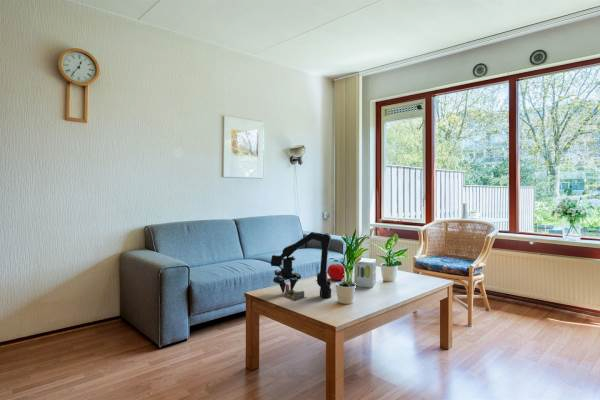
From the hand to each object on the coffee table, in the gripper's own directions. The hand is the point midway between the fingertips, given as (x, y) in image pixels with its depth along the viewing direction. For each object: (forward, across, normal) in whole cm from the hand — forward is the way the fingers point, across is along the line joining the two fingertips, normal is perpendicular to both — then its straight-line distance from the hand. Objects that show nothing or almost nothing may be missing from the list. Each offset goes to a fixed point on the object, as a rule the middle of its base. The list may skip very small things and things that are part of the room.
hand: (287, 291), depth 227 cm
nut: (+2, 0, +8) cm, 8 cm away
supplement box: (+3, -58, +17) cm, 61 cm away
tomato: (+3, -53, -5) cm, 53 cm away
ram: (+1, 0, +1) cm, 2 cm away
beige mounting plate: (+2, 0, +5) cm, 6 cm away
